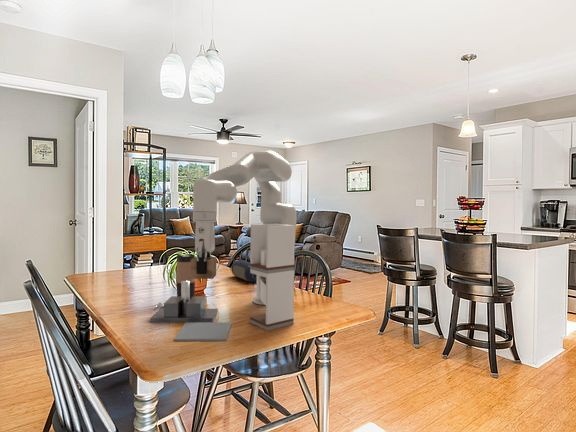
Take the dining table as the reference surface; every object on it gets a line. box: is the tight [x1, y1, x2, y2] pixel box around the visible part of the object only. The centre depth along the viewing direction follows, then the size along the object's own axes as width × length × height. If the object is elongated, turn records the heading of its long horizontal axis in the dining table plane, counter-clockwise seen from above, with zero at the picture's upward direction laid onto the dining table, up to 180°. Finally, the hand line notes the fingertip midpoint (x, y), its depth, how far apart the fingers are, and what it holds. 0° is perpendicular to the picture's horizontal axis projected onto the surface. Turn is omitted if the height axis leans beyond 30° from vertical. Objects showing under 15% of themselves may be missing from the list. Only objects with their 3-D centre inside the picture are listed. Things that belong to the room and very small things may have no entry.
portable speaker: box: [231, 259, 257, 284], centre depth 208 cm, size 25×10×10 cm, turn 32°
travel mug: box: [176, 253, 196, 299], centre depth 161 cm, size 8×8×20 cm
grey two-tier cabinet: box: [249, 223, 296, 331], centre depth 133 cm, size 11×11×35 cm
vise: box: [149, 280, 219, 323], centre depth 139 cm, size 22×12×14 cm, turn 92°
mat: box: [173, 321, 233, 342], centre depth 124 cm, size 16×16×1 cm
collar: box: [191, 256, 217, 280], centre depth 123 cm, size 7×7×6 cm
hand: (204, 271), depth 123 cm, fingers closed on collar, 7 cm apart
